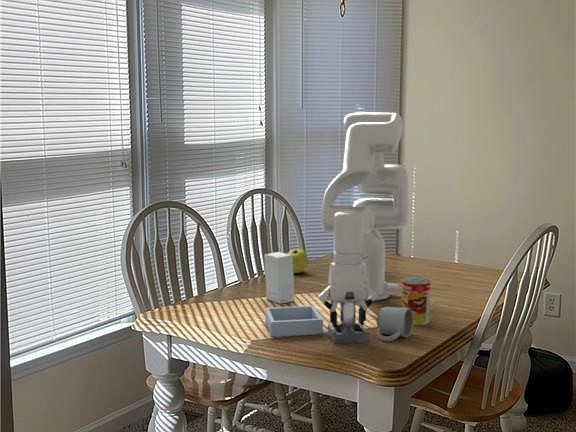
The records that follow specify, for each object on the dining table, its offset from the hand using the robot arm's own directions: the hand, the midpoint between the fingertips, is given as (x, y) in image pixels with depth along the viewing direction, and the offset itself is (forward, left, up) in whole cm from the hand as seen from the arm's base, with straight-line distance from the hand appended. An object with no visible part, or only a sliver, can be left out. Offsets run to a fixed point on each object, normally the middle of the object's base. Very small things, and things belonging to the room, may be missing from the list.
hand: (347, 323), depth 199 cm
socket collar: (0, 0, -4) cm, 4 cm away
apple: (+2, -76, -4) cm, 76 cm away
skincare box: (+13, -40, -4) cm, 42 cm away
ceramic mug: (-12, +1, -4) cm, 13 cm away
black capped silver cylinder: (0, 0, -4) cm, 4 cm away
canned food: (-22, -11, -4) cm, 25 cm away
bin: (+13, -11, -4) cm, 17 cm away
